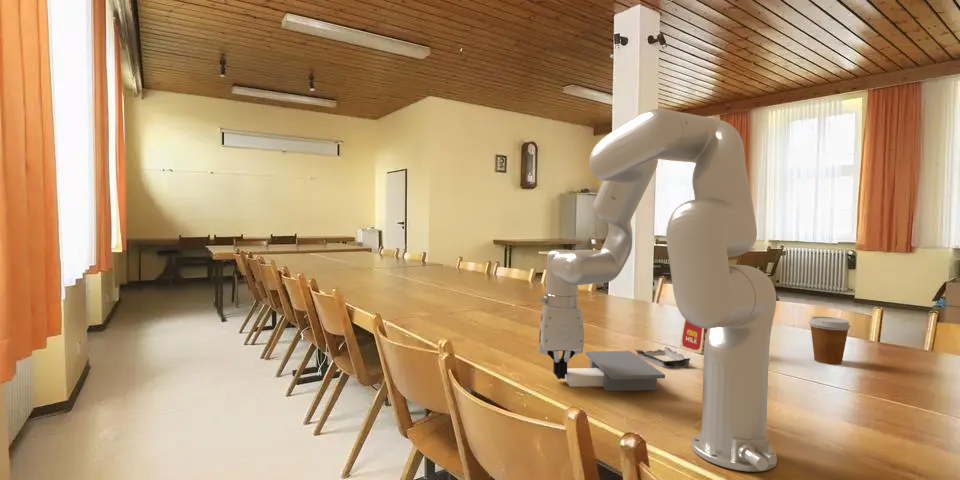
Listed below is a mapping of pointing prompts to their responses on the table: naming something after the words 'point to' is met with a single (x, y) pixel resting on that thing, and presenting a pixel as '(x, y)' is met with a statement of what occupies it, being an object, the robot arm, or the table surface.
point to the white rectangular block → (584, 377)
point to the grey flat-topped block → (624, 370)
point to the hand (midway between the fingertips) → (560, 377)
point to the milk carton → (693, 338)
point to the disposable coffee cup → (829, 339)
